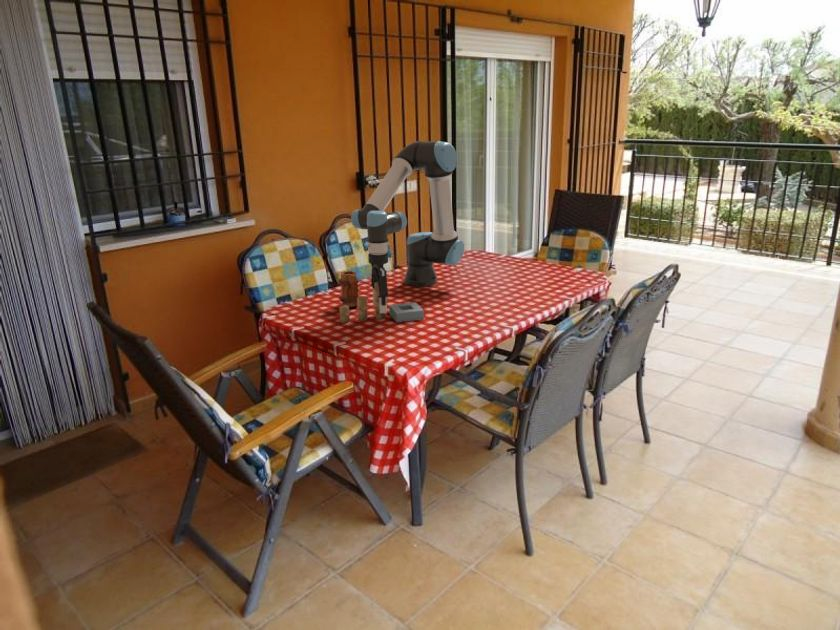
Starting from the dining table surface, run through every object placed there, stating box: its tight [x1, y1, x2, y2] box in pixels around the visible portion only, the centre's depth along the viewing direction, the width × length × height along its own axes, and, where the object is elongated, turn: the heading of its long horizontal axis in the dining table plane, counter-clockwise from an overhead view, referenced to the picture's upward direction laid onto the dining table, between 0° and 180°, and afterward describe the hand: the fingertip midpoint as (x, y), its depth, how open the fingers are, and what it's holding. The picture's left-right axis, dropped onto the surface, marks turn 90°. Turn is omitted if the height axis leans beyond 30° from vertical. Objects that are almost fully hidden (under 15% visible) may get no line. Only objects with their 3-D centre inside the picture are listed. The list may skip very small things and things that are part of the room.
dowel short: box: [339, 304, 351, 324], centre depth 240 cm, size 4×4×6 cm
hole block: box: [388, 302, 425, 323], centre depth 245 cm, size 11×11×4 cm
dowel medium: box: [357, 295, 368, 322], centre depth 241 cm, size 4×4×9 cm
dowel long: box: [374, 282, 386, 320], centre depth 242 cm, size 4×4×14 cm
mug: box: [338, 270, 360, 308], centre depth 254 cm, size 15×8×15 cm, turn 21°
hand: (380, 308), depth 243 cm, fingers open, 9 cm apart
